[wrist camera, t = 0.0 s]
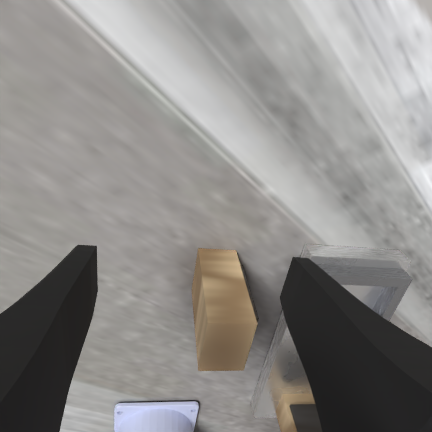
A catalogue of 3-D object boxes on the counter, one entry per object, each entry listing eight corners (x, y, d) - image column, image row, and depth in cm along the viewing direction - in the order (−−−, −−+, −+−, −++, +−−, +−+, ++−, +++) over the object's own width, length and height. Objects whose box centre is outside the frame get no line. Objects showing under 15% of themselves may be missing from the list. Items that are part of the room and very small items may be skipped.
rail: (322, 401, 36) (332, 427, 34) (250, 403, 35) (256, 431, 32) (399, 249, 27) (421, 271, 24) (304, 243, 25) (318, 266, 23)
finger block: (191, 290, 26) (198, 370, 20) (198, 248, 24) (207, 323, 18) (230, 291, 27) (248, 370, 21) (240, 250, 25) (262, 324, 19)
